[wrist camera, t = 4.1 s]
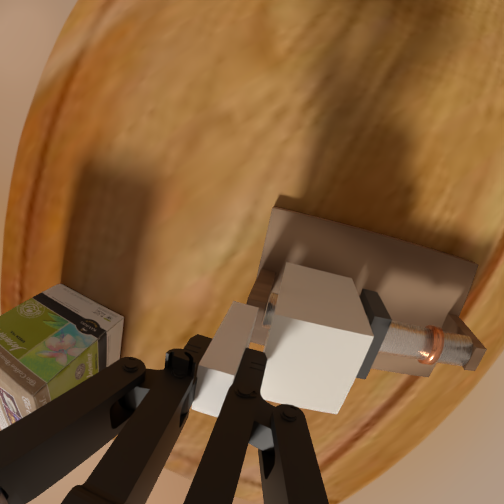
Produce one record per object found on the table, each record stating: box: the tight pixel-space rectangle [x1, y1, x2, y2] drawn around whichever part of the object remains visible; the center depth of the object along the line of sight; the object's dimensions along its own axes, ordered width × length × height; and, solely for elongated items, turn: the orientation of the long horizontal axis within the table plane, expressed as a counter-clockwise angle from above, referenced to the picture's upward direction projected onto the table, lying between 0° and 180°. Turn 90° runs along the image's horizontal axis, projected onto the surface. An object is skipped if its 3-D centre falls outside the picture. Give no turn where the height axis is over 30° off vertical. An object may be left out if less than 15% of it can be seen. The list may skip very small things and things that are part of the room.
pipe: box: [262, 292, 473, 366], centre depth 20 cm, size 3×16×3 cm, turn 79°
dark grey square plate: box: [356, 289, 392, 379], centre depth 20 cm, size 5×1×5 cm, turn 168°
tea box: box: [0, 284, 124, 431], centre depth 26 cm, size 15×10×15 cm, turn 162°
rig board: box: [247, 206, 487, 377], centre depth 22 cm, size 12×19×7 cm, turn 78°
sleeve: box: [260, 262, 374, 414], centre depth 19 cm, size 5×5×9 cm
